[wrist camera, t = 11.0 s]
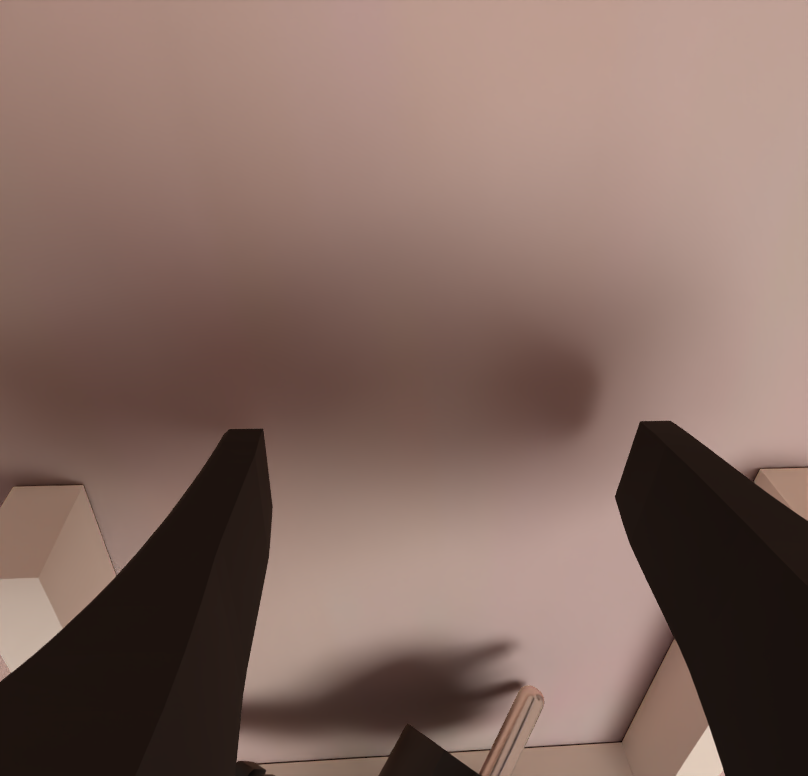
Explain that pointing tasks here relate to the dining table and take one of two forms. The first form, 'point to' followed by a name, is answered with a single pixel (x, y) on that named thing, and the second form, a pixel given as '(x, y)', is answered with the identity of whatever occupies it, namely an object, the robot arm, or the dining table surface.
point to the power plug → (439, 770)
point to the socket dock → (534, 772)
